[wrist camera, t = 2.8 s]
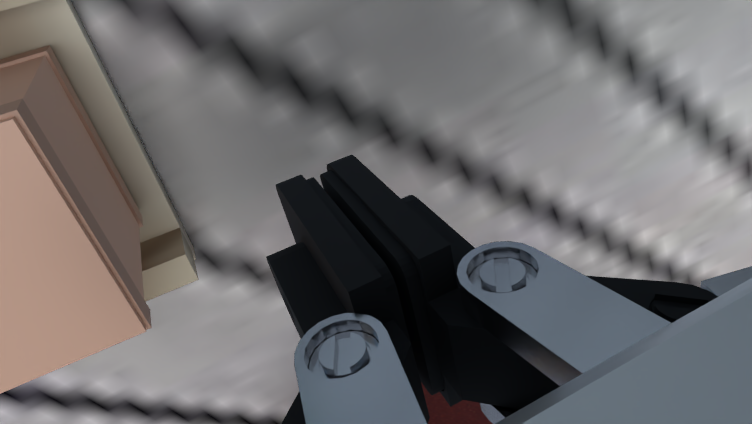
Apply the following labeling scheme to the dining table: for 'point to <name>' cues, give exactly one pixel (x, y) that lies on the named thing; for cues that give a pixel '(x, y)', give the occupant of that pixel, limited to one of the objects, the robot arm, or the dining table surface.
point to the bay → (106, 132)
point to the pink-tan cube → (60, 228)
